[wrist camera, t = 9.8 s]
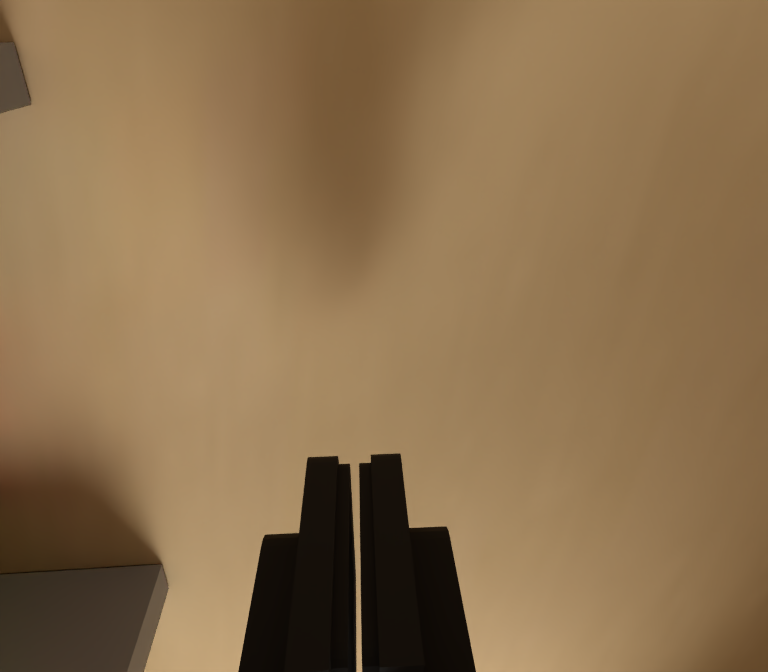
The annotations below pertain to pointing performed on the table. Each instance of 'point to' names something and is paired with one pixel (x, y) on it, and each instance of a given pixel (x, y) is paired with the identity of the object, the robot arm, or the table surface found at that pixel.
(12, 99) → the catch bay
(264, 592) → the robot arm
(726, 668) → the table surface
